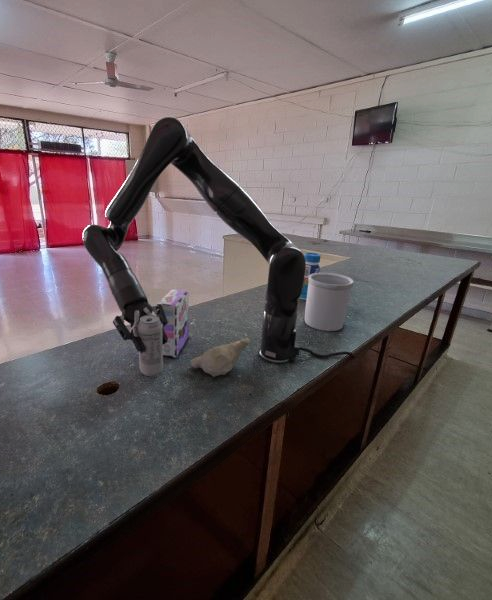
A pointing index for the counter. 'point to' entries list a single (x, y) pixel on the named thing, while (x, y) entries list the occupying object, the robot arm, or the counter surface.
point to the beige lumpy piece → (220, 358)
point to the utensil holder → (327, 300)
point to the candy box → (175, 321)
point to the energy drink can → (151, 345)
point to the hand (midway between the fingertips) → (154, 347)
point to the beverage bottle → (310, 271)
